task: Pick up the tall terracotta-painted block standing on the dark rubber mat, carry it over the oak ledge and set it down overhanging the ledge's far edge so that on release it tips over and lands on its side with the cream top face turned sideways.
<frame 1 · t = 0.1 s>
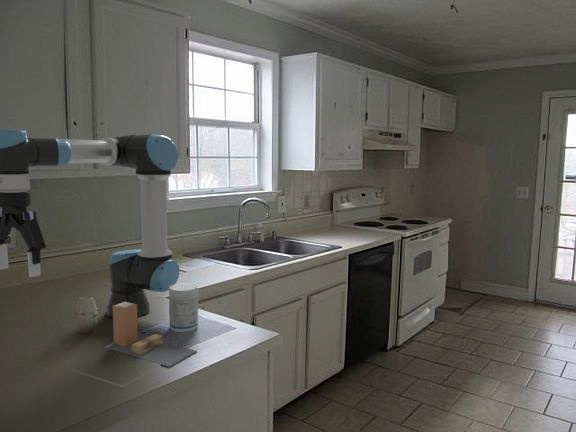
hand: (18, 272, 125), 28 cm above the worktop, fingers open, 13 cm apart
supplement tub: (184, 328, 163), on the worktop
mat: (150, 350, 145), on the worktop
ledge: (147, 349, 146), resting on mat
block: (126, 342, 150), resting on mat
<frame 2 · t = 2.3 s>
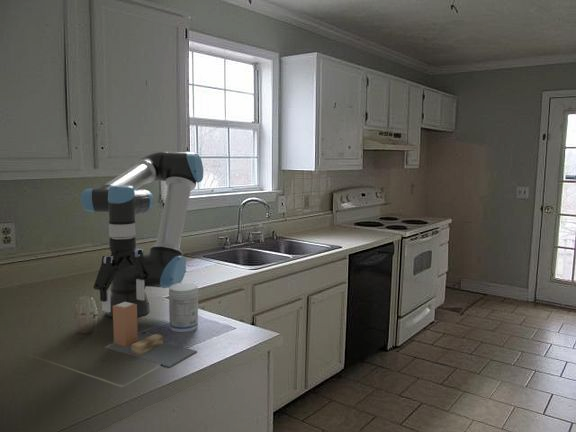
hand: (124, 305, 148), 12 cm above the worktop, fingers open, 13 cm apart
nothing on the worktop moved.
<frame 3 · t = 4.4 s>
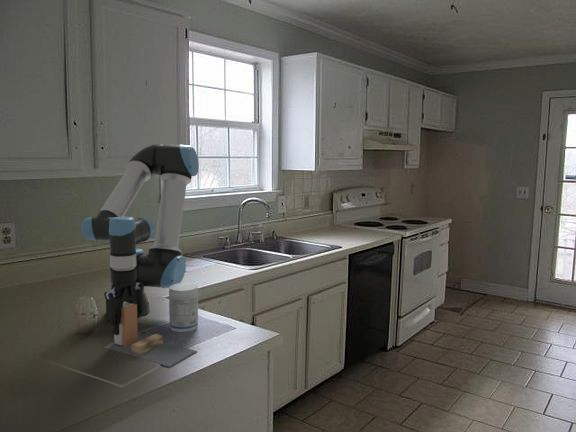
hand: (126, 340, 150), 1 cm above the worktop, fingers closed on block, 5 cm apart
block: (126, 342, 150), resting on mat, touching gripper
everything else where it was.
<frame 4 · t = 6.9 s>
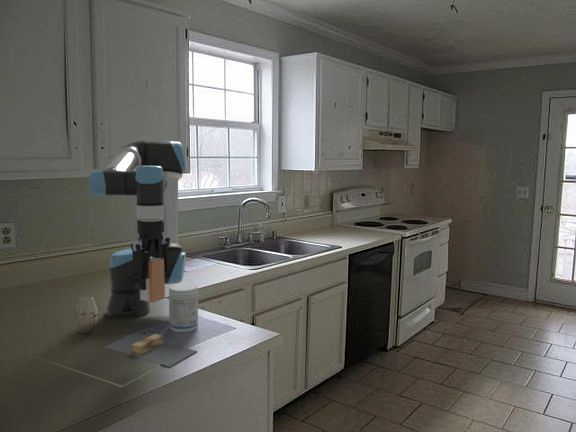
hand: (152, 297, 142), 17 cm above the worktop, fingers closed on block, 5 cm apart
block: (152, 299, 142), point 16 cm above the worktop, touching gripper
everything else where it was.
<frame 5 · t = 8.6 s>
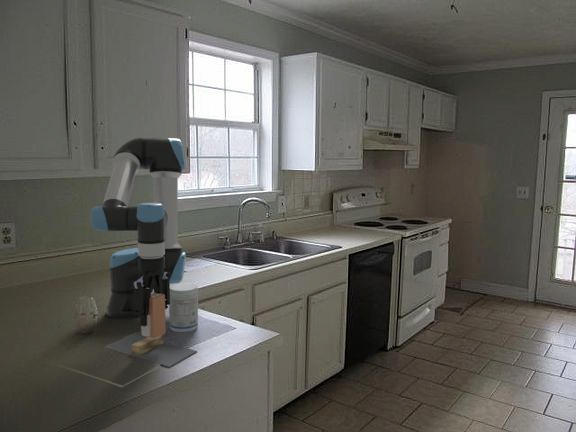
hand: (153, 332, 144), 6 cm above the worktop, fingers closed on block, 5 cm apart
block: (153, 334, 144), point 5 cm above the worktop, touching gripper
everything else where it was.
when the fingers open (5 cm above the worktop, at t = 9.6 s): block drops 1 cm and tips over, resting on mat.
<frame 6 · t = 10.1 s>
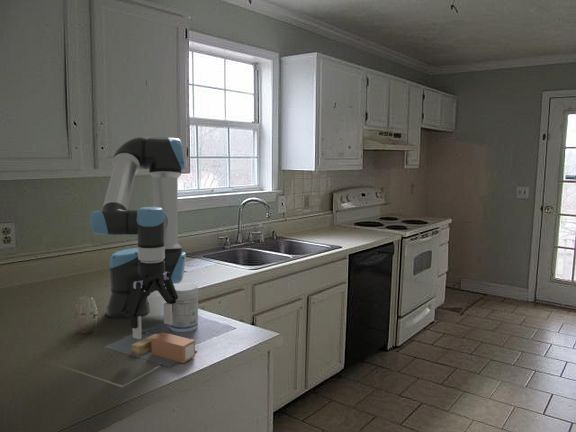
hand: (153, 330, 144), 6 cm above the worktop, fingers open, 12 cm apart
block: (157, 343, 143), point 3 cm above the worktop, tilted 90°, touching mat
everything else where it was.
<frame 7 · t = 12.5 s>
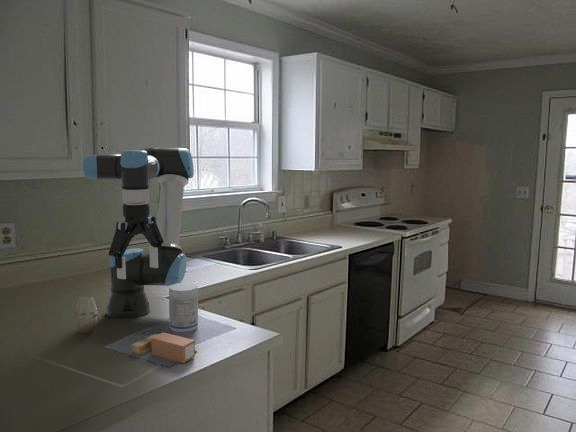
hand: (138, 272, 145), 23 cm above the worktop, fingers open, 13 cm apart
nothing on the worktop moved.
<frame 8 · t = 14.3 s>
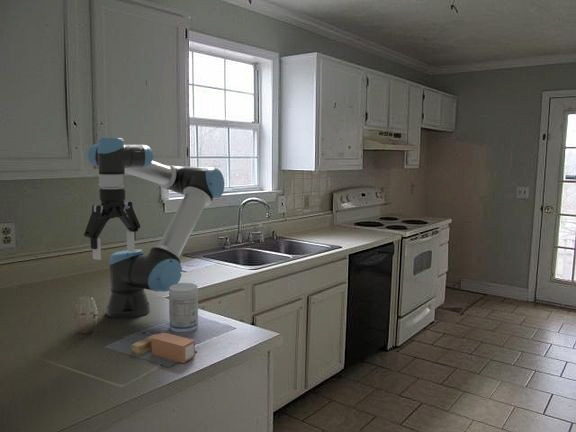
hand: (114, 255, 152), 27 cm above the worktop, fingers open, 13 cm apart
nothing on the worktop moved.
at the end: block tilted 90°; block inside the target area (4.0 cm from its centre), point 2.9 cm above the worktop; the gripper is holding nothing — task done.
